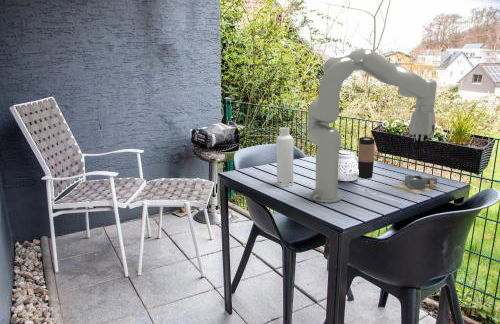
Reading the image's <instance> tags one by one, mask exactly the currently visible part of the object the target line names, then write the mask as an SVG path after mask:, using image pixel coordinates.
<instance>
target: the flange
mask: <svg viewBox="0 0 500 324" xmlns="http://www.w3.org/2000/svg"><path fill="white" fill-rule="evenodd" d="M412 177H417V178H419V179H411V178H412ZM430 180H433V181H434V185H438V180H439V179H438V178H437V177H434V176H433V177H423V176H422V175H405V176H404V183H405V186H406V187H407V188H409V189H425V186H426V185H430Z"/></svg>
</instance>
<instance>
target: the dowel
mask: <svg viewBox="0 0 500 324" xmlns="http://www.w3.org/2000/svg"><path fill="white" fill-rule="evenodd" d="M434 185H435V184H434V181H433V180H430V184H429V185H428V186H429V188H430V189H432V190H434V189H433V187H434Z"/></svg>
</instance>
